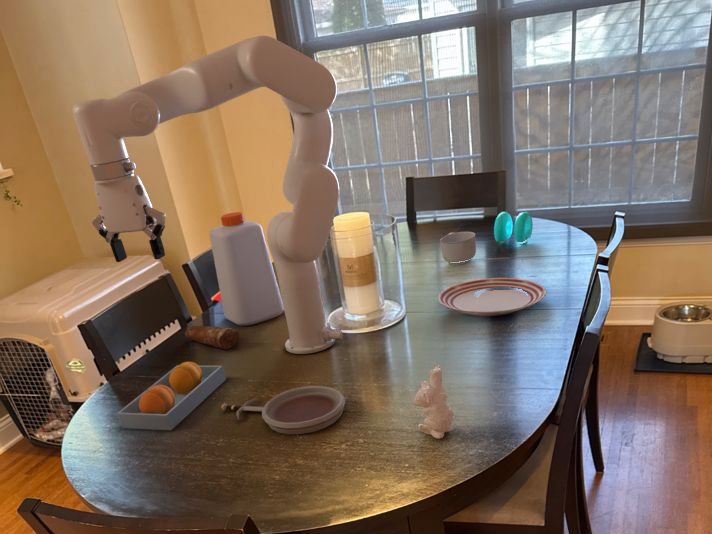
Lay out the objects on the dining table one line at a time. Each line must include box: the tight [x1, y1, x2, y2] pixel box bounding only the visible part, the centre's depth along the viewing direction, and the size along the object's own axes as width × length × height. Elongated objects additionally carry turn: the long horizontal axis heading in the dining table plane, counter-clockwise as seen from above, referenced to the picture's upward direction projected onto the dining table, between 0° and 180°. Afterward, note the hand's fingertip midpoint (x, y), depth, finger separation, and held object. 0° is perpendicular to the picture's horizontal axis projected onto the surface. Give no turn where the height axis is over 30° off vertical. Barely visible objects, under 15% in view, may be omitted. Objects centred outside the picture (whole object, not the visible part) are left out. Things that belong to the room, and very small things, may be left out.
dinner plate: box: [437, 277, 547, 317], centre depth 173 cm, size 28×27×3 cm
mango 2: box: [169, 361, 202, 395], centre depth 152 cm, size 6×9×6 cm, turn 162°
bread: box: [184, 325, 241, 350], centre depth 176 cm, size 6×19×6 cm, turn 47°
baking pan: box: [116, 364, 227, 431], centre depth 148 cm, size 12×24×4 cm, turn 162°
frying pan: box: [220, 385, 346, 435], centre depth 136 cm, size 17×3×28 cm
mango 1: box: [139, 385, 175, 414], centre depth 142 cm, size 6×9×6 cm, turn 162°
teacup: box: [439, 231, 477, 266], centre depth 209 cm, size 14×11×8 cm
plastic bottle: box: [209, 211, 284, 327], centre depth 185 cm, size 15×15×28 cm
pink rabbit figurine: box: [412, 365, 455, 440], centre depth 118 cm, size 8×7×12 cm
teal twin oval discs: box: [493, 211, 534, 246], centre depth 216 cm, size 10×10×10 cm
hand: (140, 258), depth 141 cm, fingers open, 9 cm apart
